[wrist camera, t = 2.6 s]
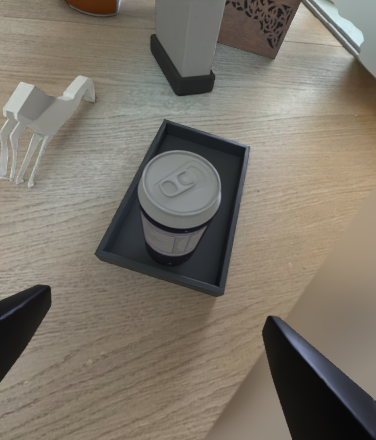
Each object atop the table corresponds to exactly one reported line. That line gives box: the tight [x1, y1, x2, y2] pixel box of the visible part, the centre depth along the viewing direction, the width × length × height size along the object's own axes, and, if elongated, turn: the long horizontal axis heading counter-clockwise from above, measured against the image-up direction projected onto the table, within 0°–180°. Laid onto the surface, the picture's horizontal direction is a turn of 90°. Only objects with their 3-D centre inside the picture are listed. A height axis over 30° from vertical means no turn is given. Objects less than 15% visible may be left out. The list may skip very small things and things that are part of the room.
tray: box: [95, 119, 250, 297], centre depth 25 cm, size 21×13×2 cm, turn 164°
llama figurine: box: [0, 75, 95, 187], centre depth 25 cm, size 2×11×18 cm
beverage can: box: [137, 150, 221, 266], centre depth 17 cm, size 6×6×12 cm
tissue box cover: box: [217, 0, 301, 59], centre depth 44 cm, size 26×14×10 cm, turn 76°
